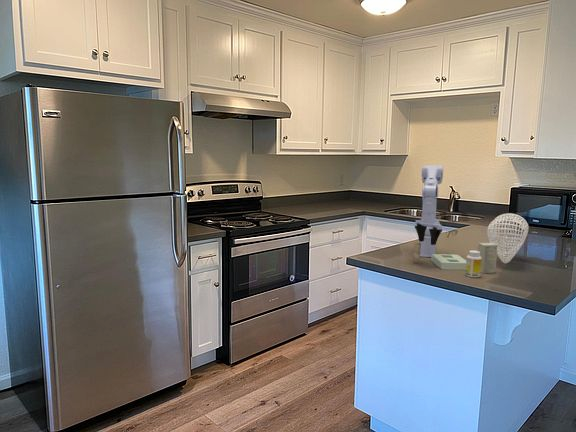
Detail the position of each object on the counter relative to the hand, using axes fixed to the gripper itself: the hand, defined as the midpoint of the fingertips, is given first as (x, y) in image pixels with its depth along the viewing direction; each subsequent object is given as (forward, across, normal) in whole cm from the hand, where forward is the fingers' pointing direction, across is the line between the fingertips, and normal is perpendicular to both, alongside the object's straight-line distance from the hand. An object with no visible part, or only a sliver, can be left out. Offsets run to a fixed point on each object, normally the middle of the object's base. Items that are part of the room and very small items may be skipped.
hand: (427, 242), depth 190 cm
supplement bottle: (+10, +21, +6) cm, 24 cm away
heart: (+10, +11, +37) cm, 40 cm away
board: (+10, +4, +10) cm, 15 cm away
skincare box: (+10, +18, +16) cm, 27 cm away
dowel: (+10, -5, -1) cm, 12 cm away
